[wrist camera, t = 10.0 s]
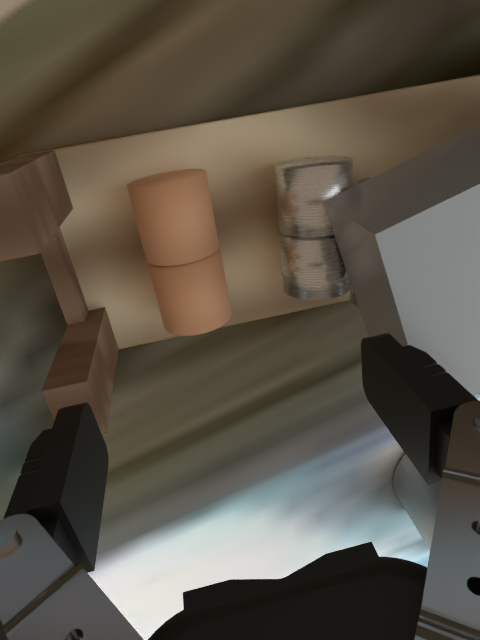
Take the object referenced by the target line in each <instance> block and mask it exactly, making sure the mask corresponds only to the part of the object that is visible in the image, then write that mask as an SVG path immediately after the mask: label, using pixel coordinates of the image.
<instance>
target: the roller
mask: <svg viewBox="0 0 480 640" xmlns="http://www.w3.org/2000/svg"><path fill="white" fill-rule="evenodd" d="M127 189H128V192H129V196H130V200H131V204H132V208H133V211H134V215H135V219H136V223H137V226H138V230H139V234H140V238H141V242H142V245H143V249H144V253H145V257H146V260H147V264H148V268H149V272H150V276H151V279H152V283H153V287H154V291H155V294H156V298H157V302H158V306H159V310H160V313H161V317H162V321H163V325H164V328H165V330H166V331H167V332H169V333H171V334H174V335H179V336H192V335H199V334H203V333H207V332H210V331H213V330H215V329H217V328H219V327H221V326H222V325H224V324H225V323H226V322H227V321H228V320H229V319H230V317H231V315H232V312H231V306H230V301H229V295H228V290H227V284H226V279H225V273H224V268H223V262H222V257H221V251H220V247H219V240H218V235H217V229H216V224H215V218H214V213H213V207H212V202H211V196H210V191H209V185H208V180H207V174H206V170H204V169H184V170H176V171H170V172H164V173H159V174H155V175H151V176H147V177H143V178H140V179H137V180H135V181H132V182H130V183H129V184H128V185H127Z"/></svg>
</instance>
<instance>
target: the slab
mask: <svg viewBox="0 0 480 640" xmlns="http://www.w3.org/2000/svg"><path fill="white" fill-rule="evenodd" d="M323 205H324V208H325V211H326V213H327V216H328V219H329V222H330V225H331V228H332V231H333V233H334V236H335V239H336V242H337V245H338V248H339V251H340V253H341V256H342V259H343V262H344V265H345V268H346V271H347V274H348V276H349V279H350V282H351V285H352V288H353V291H354V294H355V296H356V299H357V302H358V305H359V308H360V311H361V314H362V316H363V319H364V322H365V325H366V328H367V331H368V334H369V337H371V336H376V335H380V334H384V333H389V334H391V335H392V336H393V337H394V338H395V339H396V340H397V341H398V342H399V343H400V344H401V345H402V346H407V345H411V346H413V347H416V348H418V349H420V350H422V351H425V352H426V353H428V354H429V355H430V356H431V357H432V358H433V359H434V360H435V361H436V362H437V364H439V365H441V366H442V367H443V368H444V369H445V370H446V373H449V374H450V375H451V376H452V377H453V378H455V379H456V380H457V381H458V382H459V383H460V384H461V385H462V386H463V387H464V388H465V389H466V390H467V391H469V392H470V393H471V394H472V395H473V396H475V395H477V394H480V125H478V126H476V127H474V128H472V129H470V130H468V131H466V132H464V133H462V134H460V135H458V136H456V137H454V138H452V139H450V140H448V141H446V142H444V143H442V144H440V145H438V146H436V147H434V148H432V149H430V150H428V151H425V152H423V153H421V154H419V155H417V156H415V157H413V158H411V159H409V160H407V161H405V162H403V163H401V164H399V165H397V166H395V167H393V168H391V169H389V170H387V171H385V172H383V173H381V174H379V175H377V176H375V177H373V178H371V179H369V180H366V181H364V182H362V183H360V184H358V185H356V186H354V187H352V188H350V189H348V190H346V191H344V192H342V193H340V194H338V195H336V196H334V197H332V198H330V199H328V200H326V201H324V202H323Z"/></svg>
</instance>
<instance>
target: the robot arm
mask: <svg viewBox="0 0 480 640" xmlns="http://www.w3.org/2000/svg"><path fill="white" fill-rule="evenodd" d="M361 356H362V378H363V387H364V391H365V394H366V397H367V399H368V401H369V403H370V404H371V405H372V407H373V408H374V410H375V411H376V413H377V414H378V415H379V417H380V418H381V420H382V421H383V422H384V424H385V425H386V427H387V428H388V429H389V431H390V432H391V434H392V435H393V437H394V438H395V439H396V441H397V442H398V444H399V445H400V446H401V448H402V449H403V451H404V452H405V453H406V454H405V455H404V456H403V458H402V459H401V460H400V462H399V464H398V466H397V468H396V469H395V473H394V477H393V487H394V490H395V493H396V495H397V497H398V498H399V500H400V501H401V503H402V505H403V506H404V508H405V510H406V511H407V513H408V515H409V516H410V518H411V520H412V521H413V523H414V525H415V526H416V528H417V530H418V531H419V533H420V535H421V536H422V538H423V540H424V541H425V543H426V545H427V546H428V548H429V550H430V556H429V562H428V568H427V567H425V566H423V565H420V564H417V563H414V562H411V561H407V560H403V559H398V558H391V557H379V556H378V554H377V552H376V550H375V548H374V546H373V544H372V542H369V543H365V544H361V545H357V546H354V547H350V548H346V549H343V550H339V551H335V552H331V553H328V554H325V555H323V556H322V557H320V558H318V559H316V560H315V561H313V562H311V563H309V564H308V565H306V566H304V567H303V568H301V569H299V570H297V571H296V572H294V573H292V574H290V575H289V576H287V577H285V578H282V579H250V580H227V581H224V582H220V583H216V584H212V585H209V586H205V587H201V588H198V589H194V590H190V591H186V592H183V601H184V610H183V611H181V612H179V613H177V614H176V615H174V616H173V617H172V618H170V619H169V620H168V621H166V622H165V623H164V624H163V625H162V626H161V627H160V628H158V629H157V630H156V631H155V632H154V634H153V635H152V636H151V637H150V638H149V639H148V640H480V401H478V400H477V399H476V398H475V397H474V396H473V395H472V394H471V393H470V392H469V391H467V390H466V389H465V388H464V387H463V386H462V385H461V384H460V383H459V382H458V381H457V380H456V379H455V378H453V377H452V376H451V375H450V374H449V373H446V370H445V369H444V368H443V367H442V366H441V365H439V364H437V362H436V361H435V360H434V359H433V358H432V357H431V356H430V355H429V354H428V353H426V352H425V351H422V350H420V349H418V348H416V347H413V346H411V345H407V346H402V345H401V344H400V343H399V342H398V341H397V340H396V339H395V338H394V337H393V336H392V335H391V334H389V333H384V334H380V335H376V336H371V337H367V338H363V339H362V341H361ZM107 472H108V452H107V447H106V444H105V441H104V439H103V436H102V434H101V431H100V429H99V426H98V424H97V421H96V419H95V416H94V414H93V411H92V409H91V407H90V405H89V404H88V403H87V402H85V403H81V404H76V405H72V406H68V407H64V408H60V409H59V410H58V412H57V415H56V418H55V421H54V424H53V428H52V429H48V430H44V431H42V432H41V434H40V435H39V436H38V437H37V438H36V440H35V441H34V442H33V443H32V444H31V446H30V448H29V451H28V454H27V456H26V459H25V463H24V465H23V467H22V470H21V476H19V478H18V481H17V484H16V486H15V489H14V492H13V494H12V497H11V500H10V503H9V505H8V508H7V511H6V513H5V516H4V519H3V520H1V521H0V640H143V639H142V637H141V636H140V635H139V634H138V633H137V631H136V630H135V629H134V628H133V627H132V626H131V624H130V623H129V622H128V621H127V620H126V618H125V617H124V616H123V615H122V614H121V613H120V611H119V610H118V609H117V608H116V607H115V605H114V604H113V603H112V602H111V601H110V600H109V598H108V597H107V596H106V595H105V594H104V592H103V591H102V590H101V589H100V588H99V587H98V585H97V584H96V583H95V582H94V581H93V579H92V578H91V577H90V576H89V575H88V573H87V572H91V571H94V569H95V561H96V554H97V546H98V539H99V531H100V524H101V516H102V509H103V501H104V494H105V486H106V479H107Z"/></svg>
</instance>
